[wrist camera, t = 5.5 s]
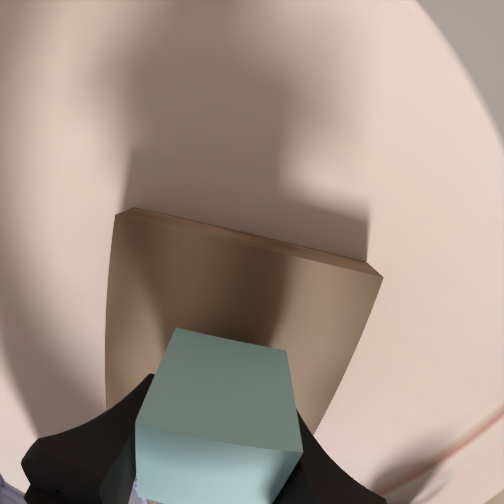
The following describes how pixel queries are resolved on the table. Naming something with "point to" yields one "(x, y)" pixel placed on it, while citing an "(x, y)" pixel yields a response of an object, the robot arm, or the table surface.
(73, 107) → the table surface
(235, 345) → the teal block
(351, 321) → the walnut plinth
